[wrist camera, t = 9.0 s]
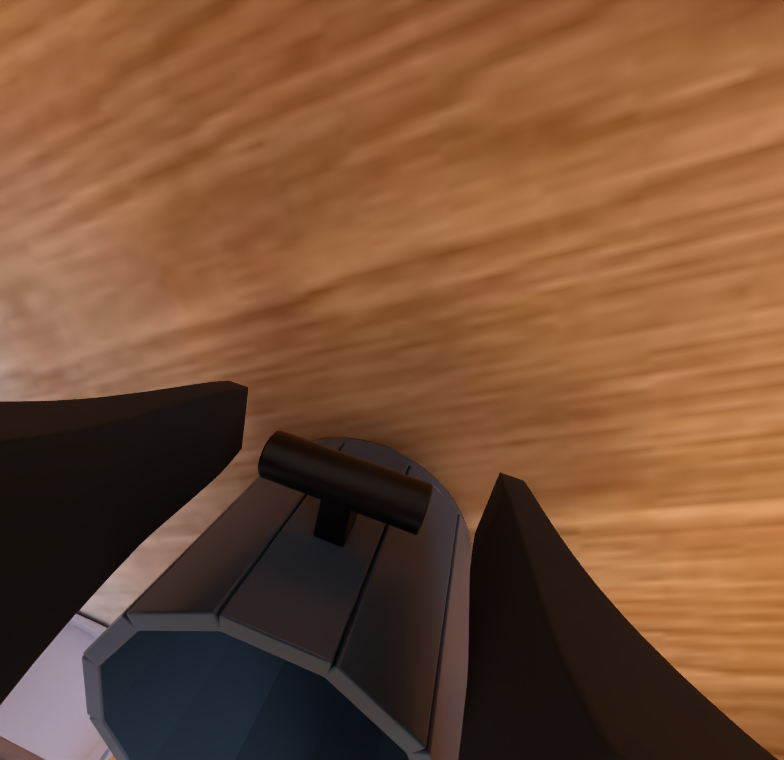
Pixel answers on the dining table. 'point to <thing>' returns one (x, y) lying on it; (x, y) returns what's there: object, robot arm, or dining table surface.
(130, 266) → the dining table surface
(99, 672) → the blue cylindrical container
